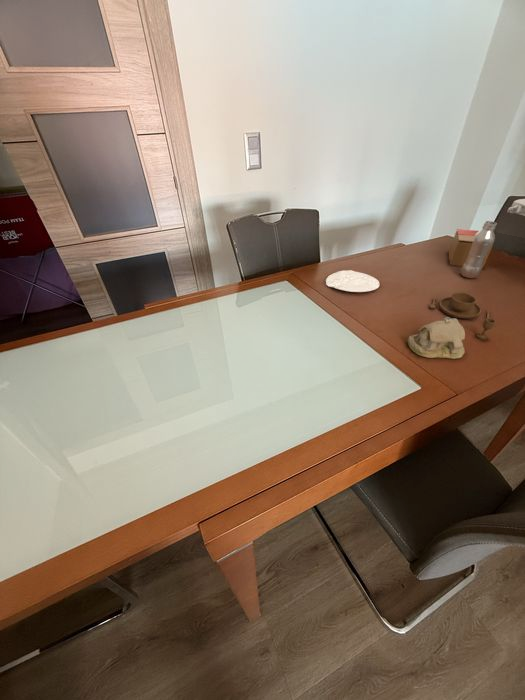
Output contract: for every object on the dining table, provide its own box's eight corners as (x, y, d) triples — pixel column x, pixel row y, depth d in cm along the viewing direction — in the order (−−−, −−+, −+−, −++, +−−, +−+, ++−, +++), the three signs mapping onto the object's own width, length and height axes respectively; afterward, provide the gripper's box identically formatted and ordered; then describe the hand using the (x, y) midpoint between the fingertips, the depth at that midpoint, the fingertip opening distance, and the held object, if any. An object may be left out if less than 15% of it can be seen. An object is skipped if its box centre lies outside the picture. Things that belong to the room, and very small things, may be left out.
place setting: (490, 308, 99) (498, 292, 95) (489, 341, 86) (499, 324, 82) (432, 296, 106) (437, 281, 103) (423, 325, 93) (429, 309, 90)
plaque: (357, 300, 106) (358, 296, 105) (315, 282, 118) (315, 279, 117) (389, 283, 116) (390, 279, 115) (347, 268, 128) (348, 265, 127)
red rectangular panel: (456, 230, 129) (457, 229, 129) (488, 232, 125) (489, 231, 125) (457, 235, 124) (458, 234, 124) (490, 237, 120) (491, 236, 120)
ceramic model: (445, 333, 90) (458, 304, 84) (471, 357, 81) (487, 327, 75) (401, 339, 89) (410, 310, 82) (422, 364, 80) (434, 334, 74)
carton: (448, 252, 135) (456, 229, 129) (479, 255, 131) (489, 231, 125) (449, 264, 125) (458, 240, 119) (482, 268, 122) (493, 243, 115)
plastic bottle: (461, 279, 115) (483, 225, 102) (456, 272, 120) (477, 219, 107) (480, 280, 114) (504, 226, 101) (475, 273, 119) (498, 220, 106)
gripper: (579, 230, 98) (540, 233, 97) (528, 212, 114) (494, 215, 113) (592, 209, 94) (551, 212, 93) (537, 194, 110) (502, 197, 109)
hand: (519, 214), depth 103 cm, fingers open, 8 cm apart
